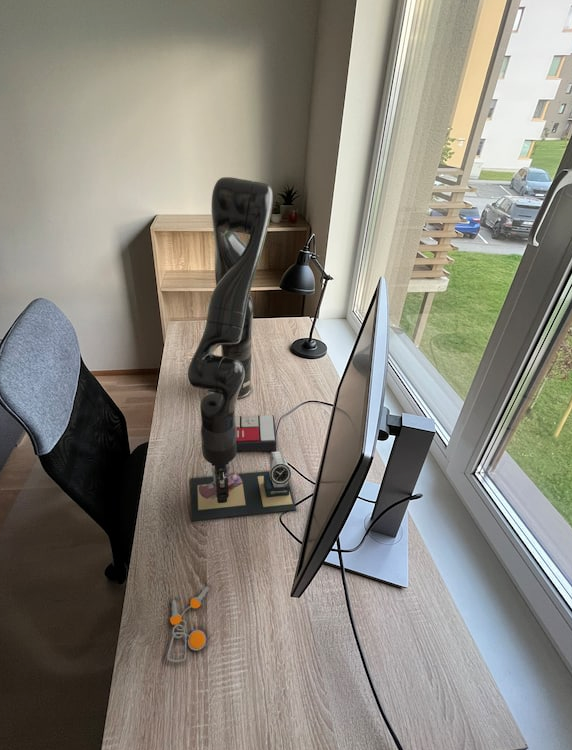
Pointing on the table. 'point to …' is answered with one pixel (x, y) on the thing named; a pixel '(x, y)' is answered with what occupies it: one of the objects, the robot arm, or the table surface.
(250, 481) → the desk mat
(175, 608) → the key chain
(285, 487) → the watch
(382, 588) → the table surface
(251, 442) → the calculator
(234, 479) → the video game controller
